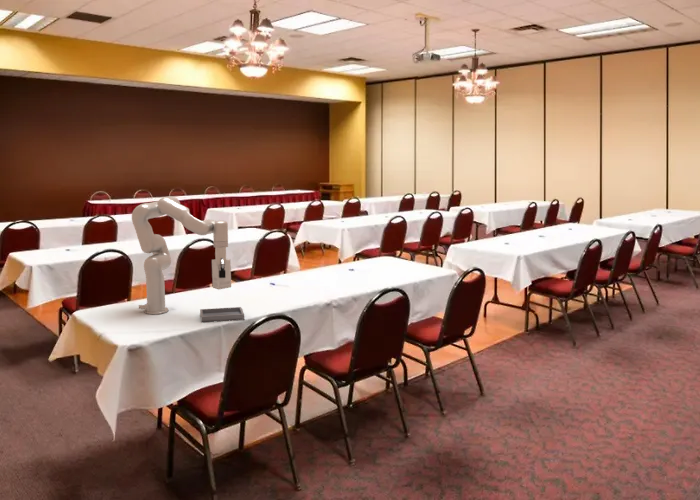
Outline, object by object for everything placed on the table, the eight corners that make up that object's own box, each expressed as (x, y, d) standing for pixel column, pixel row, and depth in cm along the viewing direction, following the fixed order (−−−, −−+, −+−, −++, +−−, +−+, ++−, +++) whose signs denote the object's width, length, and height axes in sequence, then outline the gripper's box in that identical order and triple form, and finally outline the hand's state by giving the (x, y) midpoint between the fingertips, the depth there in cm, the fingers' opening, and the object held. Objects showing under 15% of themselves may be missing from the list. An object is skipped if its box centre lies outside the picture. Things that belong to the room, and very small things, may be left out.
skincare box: (225, 285, 335) (224, 257, 333) (232, 287, 330) (231, 259, 328) (211, 288, 330) (211, 259, 327) (218, 289, 325) (217, 260, 323)
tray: (201, 322, 320) (201, 316, 319) (200, 314, 335) (200, 309, 334) (244, 319, 326) (244, 314, 325) (241, 312, 341) (240, 306, 340)
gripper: (212, 242, 333) (212, 273, 336) (215, 246, 317) (215, 279, 320) (226, 241, 336) (226, 272, 338) (229, 246, 319) (230, 278, 322)
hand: (221, 276), depth 329 cm, fingers closed on skincare box, 8 cm apart
